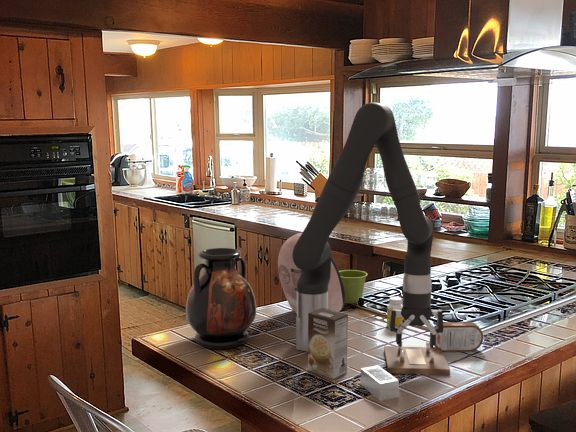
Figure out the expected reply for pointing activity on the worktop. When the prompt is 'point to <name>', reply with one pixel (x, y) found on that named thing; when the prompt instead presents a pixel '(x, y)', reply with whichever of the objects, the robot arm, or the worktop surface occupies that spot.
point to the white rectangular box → (379, 383)
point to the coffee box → (327, 342)
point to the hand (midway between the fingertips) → (415, 346)
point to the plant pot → (353, 284)
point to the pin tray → (416, 360)
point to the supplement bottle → (396, 304)
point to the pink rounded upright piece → (292, 274)
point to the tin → (459, 337)
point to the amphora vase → (220, 300)
